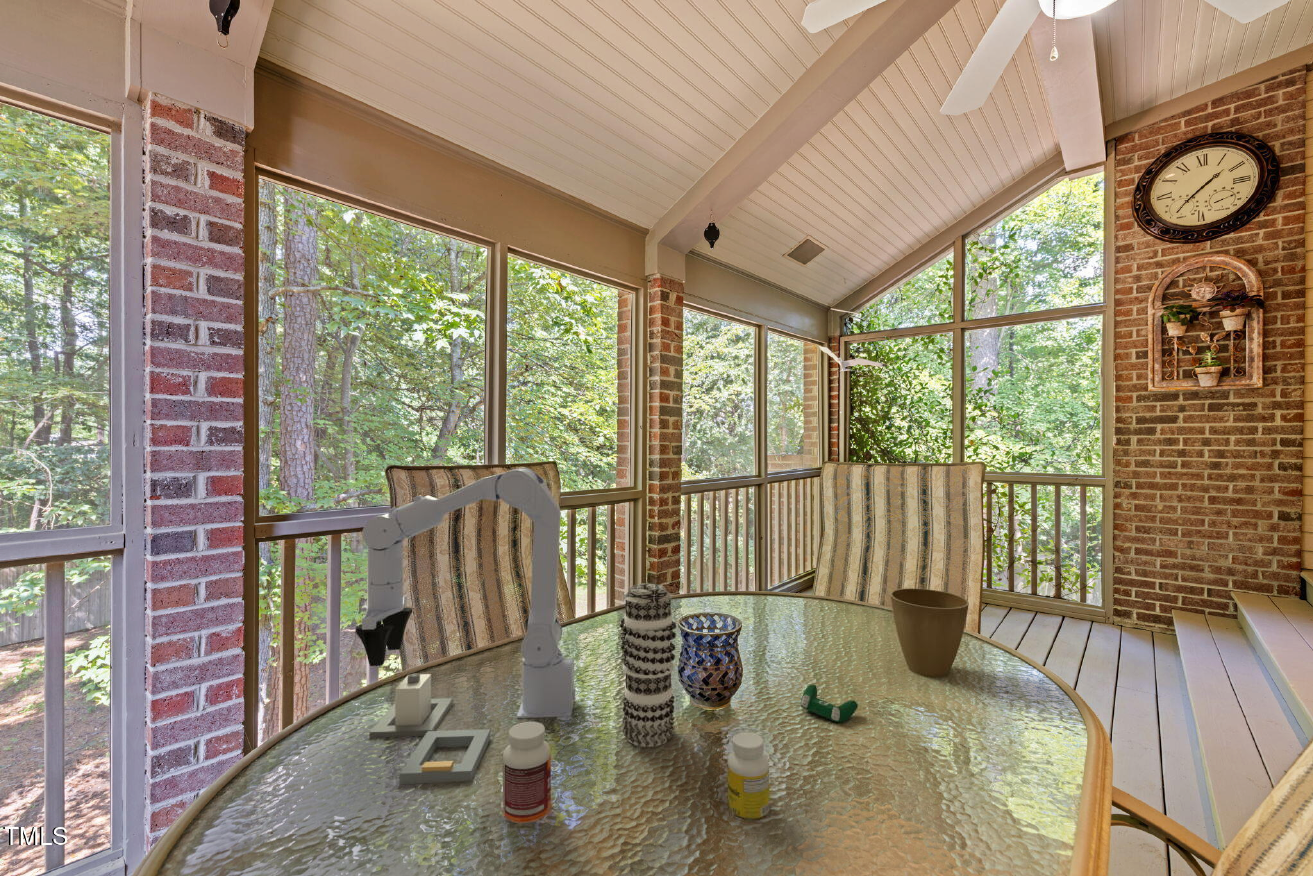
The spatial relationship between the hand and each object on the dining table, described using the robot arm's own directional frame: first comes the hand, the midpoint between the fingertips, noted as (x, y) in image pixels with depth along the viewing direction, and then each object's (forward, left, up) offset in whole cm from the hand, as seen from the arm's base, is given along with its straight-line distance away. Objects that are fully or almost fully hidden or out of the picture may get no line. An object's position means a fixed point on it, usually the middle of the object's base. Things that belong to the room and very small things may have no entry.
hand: (385, 657), depth 104 cm
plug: (-6, +3, -10) cm, 12 cm away
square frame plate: (-6, +3, -10) cm, 12 cm away
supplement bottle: (-59, +32, -10) cm, 68 cm away
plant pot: (-107, -11, -10) cm, 108 cm away
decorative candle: (-47, +12, -10) cm, 49 cm away
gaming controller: (-81, +4, -9) cm, 81 cm away
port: (-16, +17, -10) cm, 25 cm away
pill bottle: (-30, +30, -10) cm, 44 cm away
